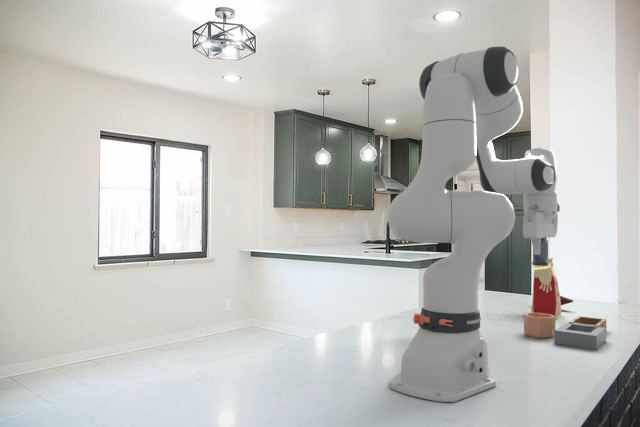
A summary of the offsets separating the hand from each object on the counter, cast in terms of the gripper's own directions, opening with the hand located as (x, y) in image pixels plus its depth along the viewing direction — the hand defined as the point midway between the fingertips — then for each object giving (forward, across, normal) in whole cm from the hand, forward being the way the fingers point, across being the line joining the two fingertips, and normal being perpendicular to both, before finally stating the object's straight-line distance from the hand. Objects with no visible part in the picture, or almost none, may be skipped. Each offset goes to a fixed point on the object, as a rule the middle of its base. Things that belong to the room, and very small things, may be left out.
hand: (540, 254), depth 141 cm
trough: (+23, +12, -10) cm, 28 cm away
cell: (+3, 0, 0) cm, 3 cm away
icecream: (+24, +46, +9) cm, 53 cm away
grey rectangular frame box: (+23, -2, -10) cm, 25 cm away
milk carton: (+23, +31, +8) cm, 40 cm away
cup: (+23, 0, 0) cm, 23 cm away
